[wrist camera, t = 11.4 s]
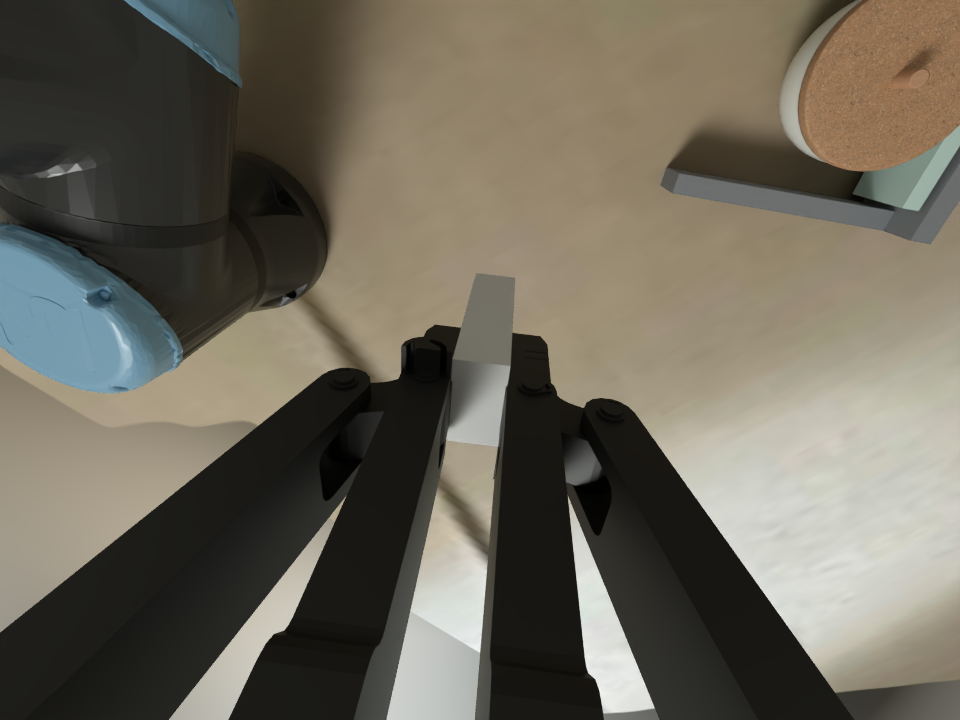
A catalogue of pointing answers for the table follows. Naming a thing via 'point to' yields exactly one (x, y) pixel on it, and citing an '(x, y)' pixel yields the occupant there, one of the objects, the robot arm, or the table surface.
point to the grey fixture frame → (829, 202)
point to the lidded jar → (875, 84)
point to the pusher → (909, 176)
